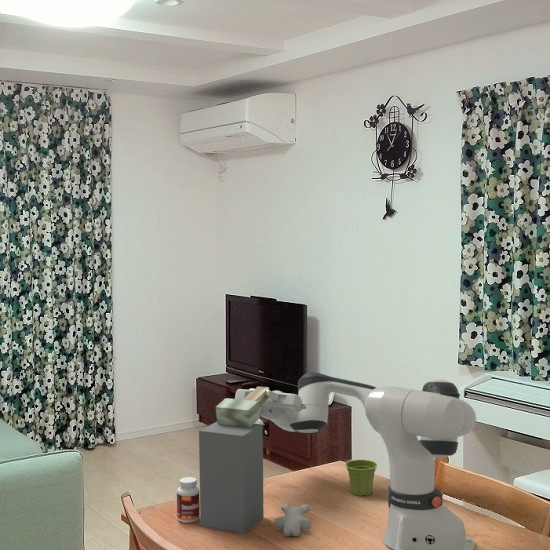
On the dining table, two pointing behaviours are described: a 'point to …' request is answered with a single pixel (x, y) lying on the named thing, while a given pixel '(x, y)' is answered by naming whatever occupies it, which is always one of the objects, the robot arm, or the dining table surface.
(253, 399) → the mallet
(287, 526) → the grey soft figure
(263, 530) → the dining table surface
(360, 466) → the plant pot
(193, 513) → the pill bottle
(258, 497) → the stand
